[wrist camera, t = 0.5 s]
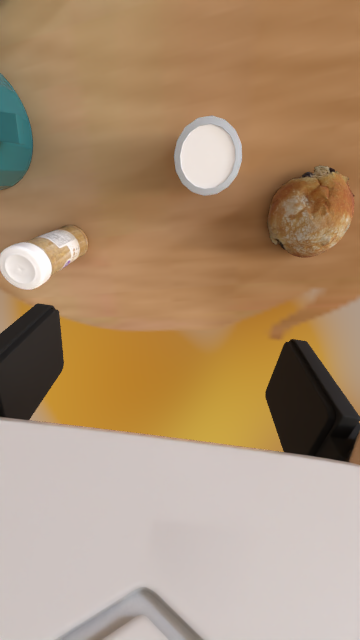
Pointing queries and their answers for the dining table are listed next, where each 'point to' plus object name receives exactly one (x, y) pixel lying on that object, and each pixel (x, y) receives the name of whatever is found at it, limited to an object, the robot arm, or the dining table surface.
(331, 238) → the bread roll
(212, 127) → the white cup
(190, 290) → the dining table surface
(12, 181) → the pot
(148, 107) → the dining table surface
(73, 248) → the spice jar
